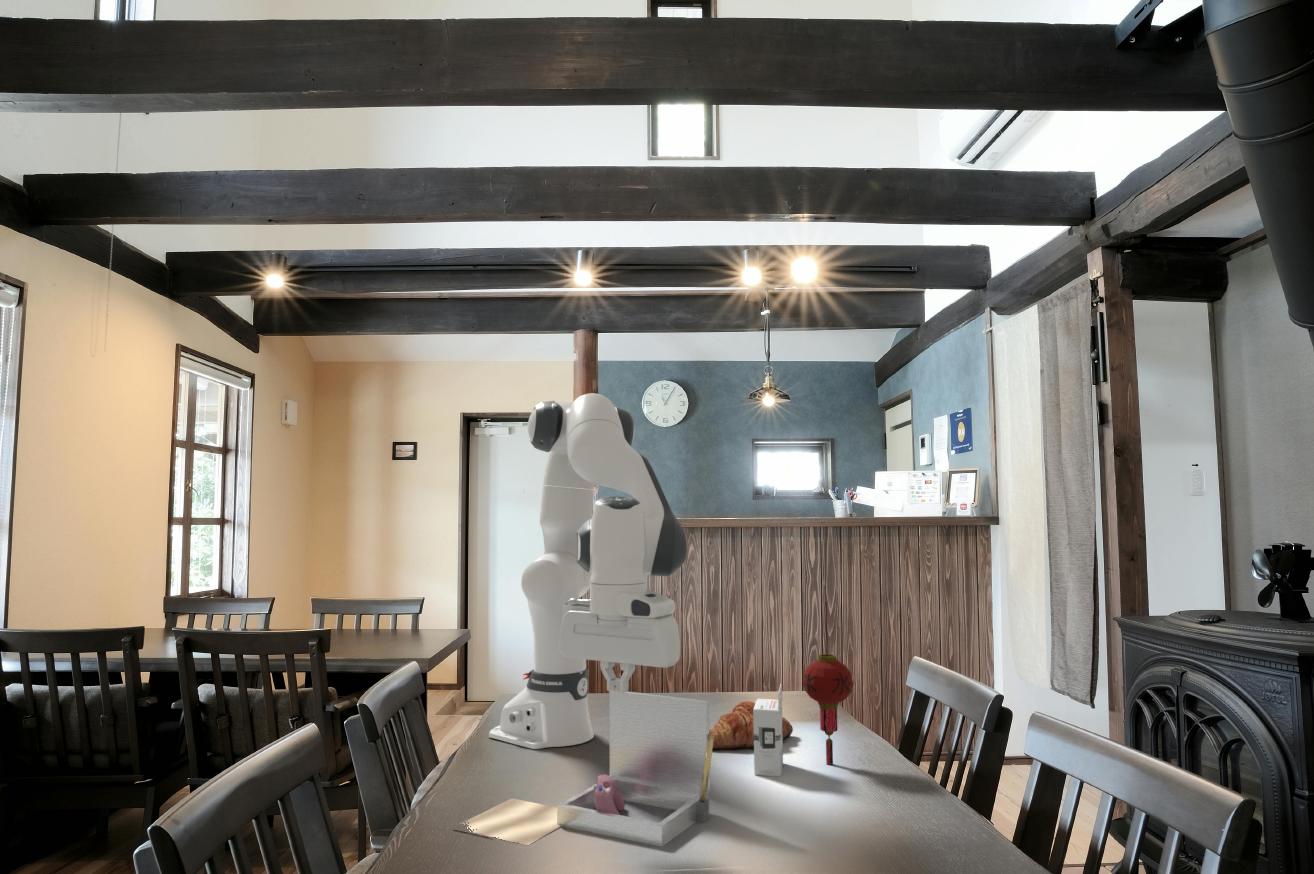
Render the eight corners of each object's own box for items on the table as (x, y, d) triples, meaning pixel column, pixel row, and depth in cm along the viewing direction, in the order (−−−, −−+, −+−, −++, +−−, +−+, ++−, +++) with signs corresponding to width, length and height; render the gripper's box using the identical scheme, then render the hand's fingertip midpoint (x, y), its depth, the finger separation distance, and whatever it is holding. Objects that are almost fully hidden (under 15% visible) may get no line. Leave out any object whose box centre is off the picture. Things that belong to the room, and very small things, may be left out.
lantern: (794, 759, 158) (791, 600, 161) (835, 753, 162) (832, 597, 164) (823, 774, 150) (819, 605, 152) (866, 767, 153) (861, 602, 156)
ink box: (757, 760, 158) (756, 681, 159) (783, 762, 157) (782, 682, 158) (753, 775, 150) (752, 691, 151) (781, 777, 149) (779, 692, 150)
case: (557, 828, 126) (557, 710, 127) (612, 795, 140) (612, 689, 141) (669, 853, 116) (668, 725, 118) (717, 815, 130) (715, 701, 132)
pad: (452, 832, 124) (452, 827, 124) (511, 802, 137) (511, 797, 137) (527, 851, 118) (527, 845, 118) (582, 817, 130) (582, 812, 130)
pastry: (776, 757, 161) (775, 715, 161) (700, 749, 166) (700, 708, 167) (793, 734, 176) (793, 696, 177) (724, 728, 182) (723, 690, 182)
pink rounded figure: (597, 813, 133) (592, 768, 133) (625, 809, 133) (620, 764, 133) (593, 838, 123) (588, 789, 123) (624, 834, 123) (619, 785, 124)
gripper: (551, 599, 132) (550, 688, 131) (665, 607, 122) (665, 702, 121) (573, 595, 138) (573, 680, 137) (684, 602, 128) (684, 694, 127)
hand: (617, 691), depth 129 cm, fingers closed
